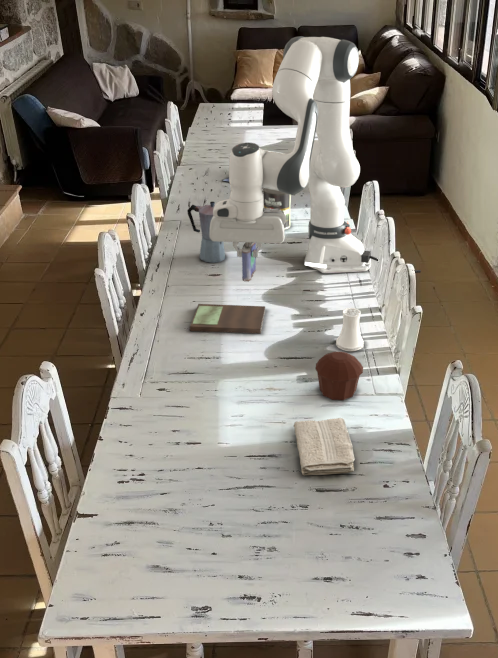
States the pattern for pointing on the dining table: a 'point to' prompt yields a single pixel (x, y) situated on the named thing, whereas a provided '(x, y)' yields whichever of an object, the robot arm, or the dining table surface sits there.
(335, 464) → the washcloth
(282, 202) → the coffee can
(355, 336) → the white salt shaker
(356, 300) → the dining table surface
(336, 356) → the muffin
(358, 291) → the dining table surface
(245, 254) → the flask
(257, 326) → the board
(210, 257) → the moka pot
